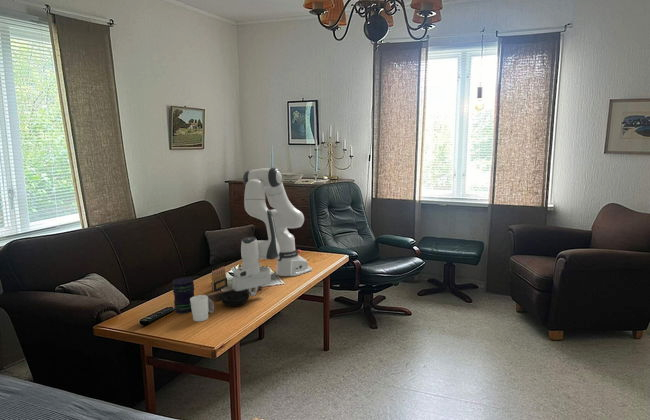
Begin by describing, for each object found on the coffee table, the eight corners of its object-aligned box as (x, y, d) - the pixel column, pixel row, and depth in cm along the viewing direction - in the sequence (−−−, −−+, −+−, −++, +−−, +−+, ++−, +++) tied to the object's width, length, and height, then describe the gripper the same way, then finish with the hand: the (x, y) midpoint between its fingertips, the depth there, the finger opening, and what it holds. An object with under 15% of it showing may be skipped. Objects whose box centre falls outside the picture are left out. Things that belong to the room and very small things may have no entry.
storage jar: (195, 304, 221) (192, 276, 219) (197, 311, 212) (194, 281, 210) (174, 308, 218) (171, 279, 216) (175, 315, 209) (172, 284, 206)
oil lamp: (259, 296, 229) (258, 287, 228) (241, 310, 211) (240, 300, 210) (233, 294, 233) (232, 285, 233) (213, 308, 215) (213, 298, 214)
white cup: (193, 323, 198) (191, 302, 196) (191, 317, 205) (189, 296, 204) (211, 320, 201) (209, 299, 199) (208, 314, 208) (206, 293, 207)
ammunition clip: (214, 292, 239) (212, 270, 238) (211, 291, 240) (210, 270, 238) (227, 286, 248) (226, 265, 247) (225, 285, 249) (223, 265, 248)
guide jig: (259, 289, 240) (259, 280, 240) (272, 296, 228) (272, 287, 227) (199, 304, 222) (198, 294, 221) (210, 312, 210) (209, 302, 209)
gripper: (266, 264, 232) (268, 289, 234) (230, 272, 221) (232, 298, 223) (272, 266, 227) (274, 292, 229) (235, 274, 216) (237, 301, 218)
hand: (253, 295), depth 226 cm, fingers closed
